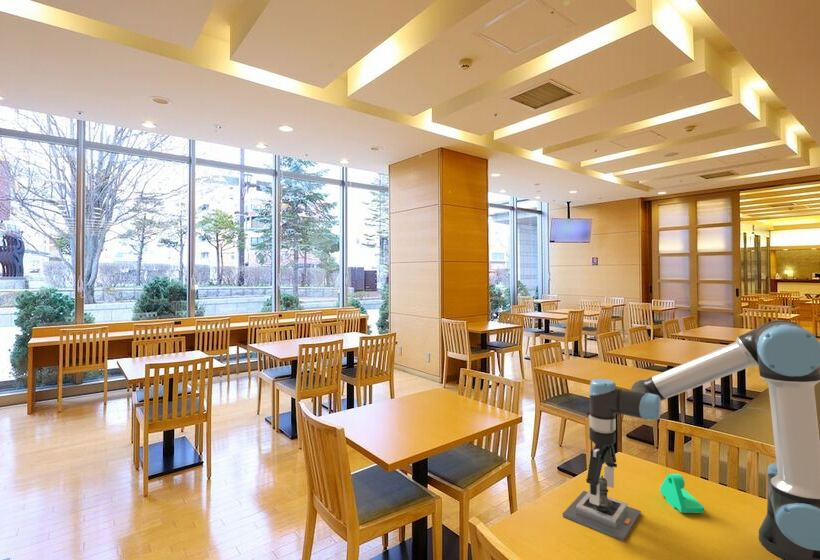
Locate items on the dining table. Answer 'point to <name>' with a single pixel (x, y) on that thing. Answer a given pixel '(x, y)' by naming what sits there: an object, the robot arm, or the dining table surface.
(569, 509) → the plate
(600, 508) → the gray metallic stepped cylinder
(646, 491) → the dining table surface
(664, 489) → the camera mount
